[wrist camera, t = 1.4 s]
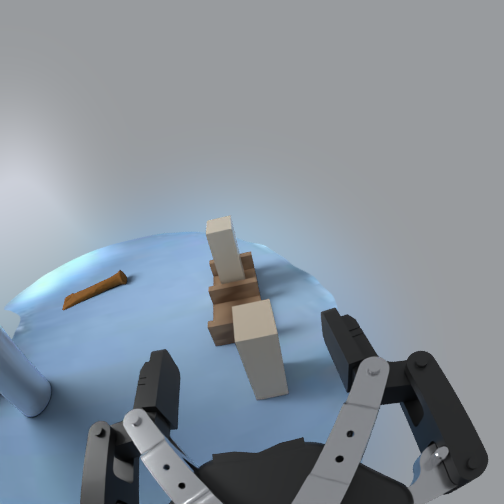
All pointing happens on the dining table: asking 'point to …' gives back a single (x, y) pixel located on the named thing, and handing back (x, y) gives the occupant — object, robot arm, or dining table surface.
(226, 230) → the tall square post
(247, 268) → the rack
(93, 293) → the primitive tool
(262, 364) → the beige rectangular block
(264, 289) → the dining table surface
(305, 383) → the dining table surface
